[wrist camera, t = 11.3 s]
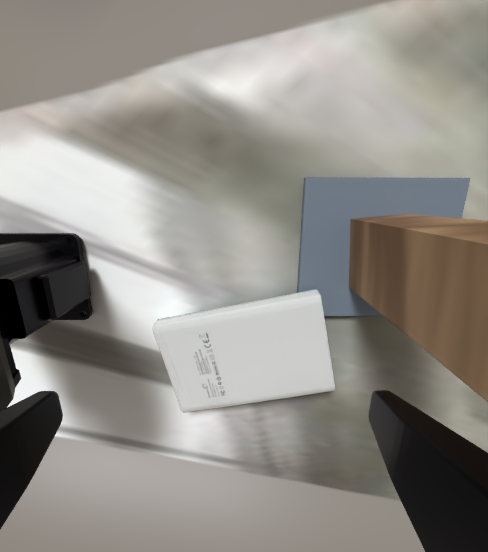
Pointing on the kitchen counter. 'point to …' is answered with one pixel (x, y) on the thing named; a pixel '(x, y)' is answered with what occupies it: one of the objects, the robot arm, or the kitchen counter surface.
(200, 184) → the kitchen counter surface
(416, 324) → the walnut block
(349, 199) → the rubber mat
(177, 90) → the kitchen counter surface
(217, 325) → the external hard drive
